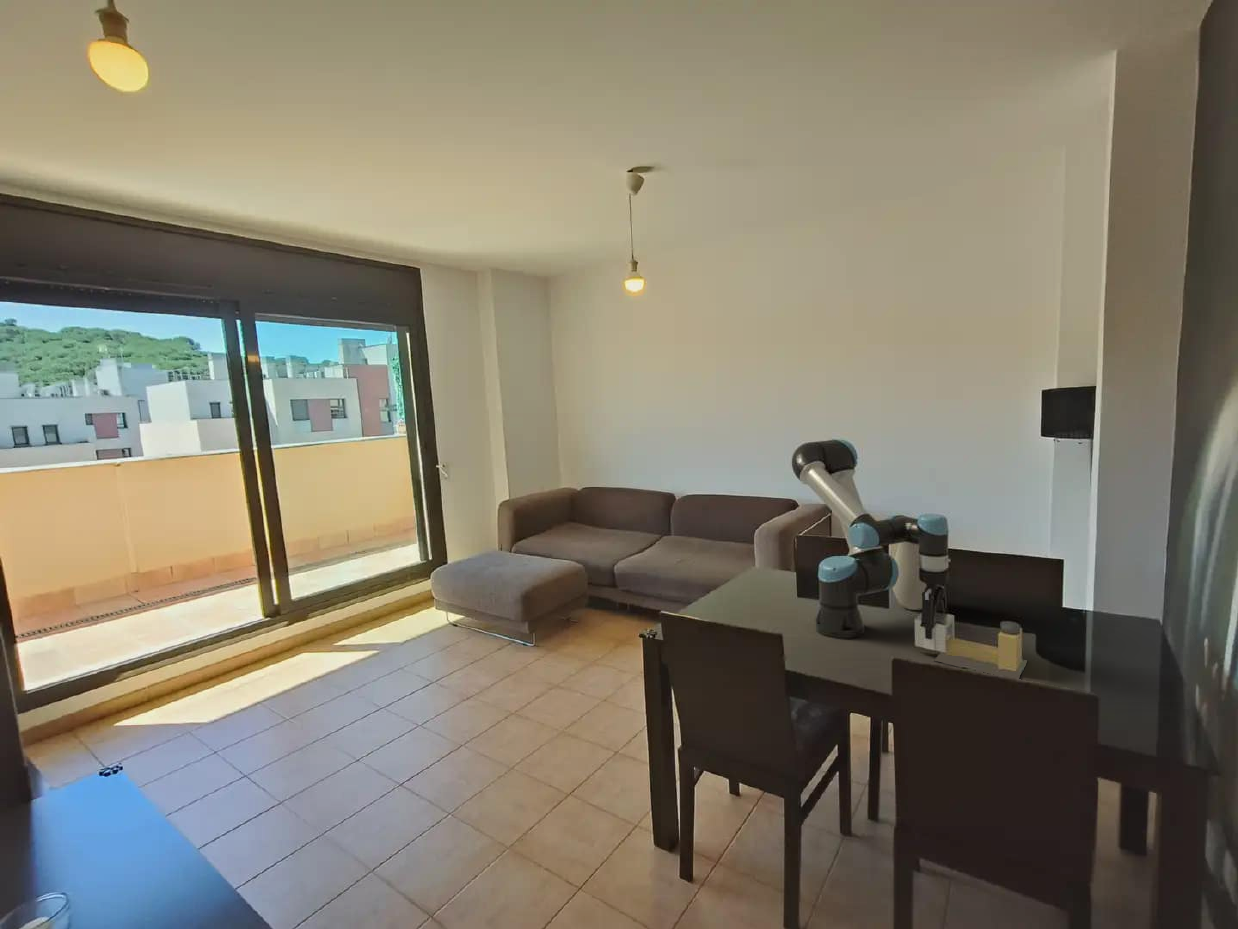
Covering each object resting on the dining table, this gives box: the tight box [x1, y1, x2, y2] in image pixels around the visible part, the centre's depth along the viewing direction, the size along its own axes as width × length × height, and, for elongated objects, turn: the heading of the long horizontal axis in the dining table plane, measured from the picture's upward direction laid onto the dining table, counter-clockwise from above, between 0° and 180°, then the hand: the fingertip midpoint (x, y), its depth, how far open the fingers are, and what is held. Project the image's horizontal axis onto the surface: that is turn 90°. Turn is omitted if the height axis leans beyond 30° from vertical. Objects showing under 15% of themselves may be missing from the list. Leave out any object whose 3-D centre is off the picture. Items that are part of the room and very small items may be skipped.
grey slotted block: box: [914, 612, 955, 653], centre depth 168 cm, size 8×9×8 cm
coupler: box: [946, 620, 1023, 671], centre depth 159 cm, size 17×8×12 cm, turn 46°
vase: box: [892, 542, 927, 611], centre depth 200 cm, size 14×14×30 cm
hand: (934, 642), depth 168 cm, fingers closed on grey slotted block, 9 cm apart
